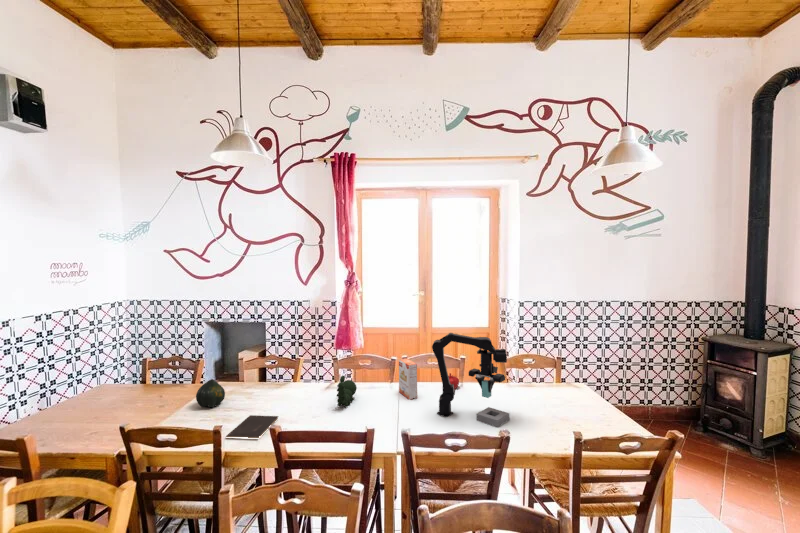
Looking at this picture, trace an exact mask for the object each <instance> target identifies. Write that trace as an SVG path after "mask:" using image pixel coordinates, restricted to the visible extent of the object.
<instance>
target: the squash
mask: <svg viewBox="0 0 800 533" xmlns="http://www.w3.org/2000/svg"><path fill="white" fill-rule="evenodd" d="M225 397H226V391H225V389H224V387H223V386H222V385H220V384H219V383H218V382H217V381H216V379H213V378H211V379H209V380H208V381H206V382H205V383H204V384H202V385H201V386H200V387H199V389H198V390H197V392H196V394H195V400H196V402H197V404H198V405H199V406H200V407H208V408H210V407H212V408H214V407H216V406H215V405H218V406H219V405H220V404H222V402H223V401H224V400H225ZM213 406H214V407H213Z"/></svg>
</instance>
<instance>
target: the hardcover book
mask: <svg viewBox="0 0 800 533" xmlns="http://www.w3.org/2000/svg"><path fill="white" fill-rule="evenodd" d="M278 418H279V416H278V415H253V414H252V415H248V417H246V418H245V419H244V420H243V421H242V422H240V423H239V424H238V425H236V427H235V428H233V429H232V430H231V431H230V432H229V433H228V434H226V436H225V438H226V437H248V438H259V436H261V435H262V434H263V433H264V432H265V431H266V430H267V429H268V430H270V428H269V426H270V425H272V426H273V425H275V423H276V422H277V421H278V420H279V419H278ZM277 419H278V420H277ZM276 420H277V421H276ZM275 421H276V422H275ZM268 430H267V431H268ZM267 431H266V432H267ZM266 432H265V433H266ZM265 433H264V434H265ZM264 434H263V435H264ZM263 435H262V436H263Z"/></svg>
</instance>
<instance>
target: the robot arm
mask: <svg viewBox="0 0 800 533" xmlns="http://www.w3.org/2000/svg"><path fill="white" fill-rule="evenodd" d="M452 342H453V343H457V344H464V345H469V346H473V347H474V346H475V348H478V349H477V351H476V354H477V355H480V363H479V367H480V369H478V368H471V369H470V370H469V371H468V377H474V379H475V380H476V381H477V383H478V384H479V387H480V389H481V390H482V381H483V380H485V378H488V380H489V381H488V388H489V393H490V392H491V393H492V390H493V387H494V384H495V383H502V382H504V381H505V380H506V376H505V374H503V373H498V369H499V368H498V367H497V366H495V365H494V363H493V361H494V362H495V363H502V364H503V363H508V357H507V349H505V348H502V349H501V348H500V349H498V348H497V349H496V348H495V346H494V345H493V342H492V340H491V338H489V337H488V336H477V337H476V336H468V335H463V334H458V333H453V332H449V333H448V334H446V335H445V336H443V337H442V338H439V339H435V340H434V341H433V343H432V346H431V349H432V352H433V355H434V356H435V358H436V360H437V366H438V370H439V374H440V378H441V383H442V394H440V395H439V399H438V411H437V412H436V414H437V415H439V416H442V417H444V418H447V417H449V416H451V415H453V414H454V412H453V411H452V404H451V403H452V401H454V397H455V395H456V388H455V389H454V384H452V385H451V383H450V381H449V377H448V376H449V374H448V368H447V364H446V359H445V347H447V346H448V345H449V344H451V343H452Z"/></svg>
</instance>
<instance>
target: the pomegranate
mask: <svg viewBox="0 0 800 533" xmlns="http://www.w3.org/2000/svg"><path fill="white" fill-rule="evenodd" d="M448 377H449V381H450V383H451V385H452V384H454V389H455V390H456V389H457V388H458V386H459V383H460V379H459V378H458V377H457V376H455V375H454V374H452V373H450V372H449V374H448Z"/></svg>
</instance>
